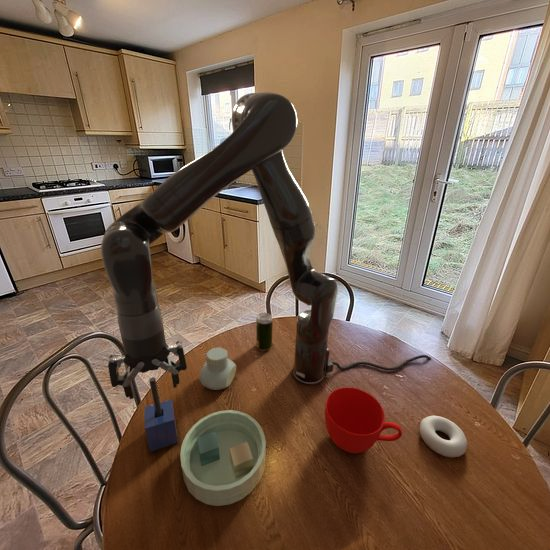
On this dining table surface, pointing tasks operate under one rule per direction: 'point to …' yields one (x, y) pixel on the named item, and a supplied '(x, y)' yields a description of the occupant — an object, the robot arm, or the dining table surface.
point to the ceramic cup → (356, 420)
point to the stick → (155, 396)
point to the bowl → (223, 458)
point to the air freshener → (217, 370)
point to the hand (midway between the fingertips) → (154, 390)
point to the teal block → (208, 448)
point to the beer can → (264, 331)
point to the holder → (160, 426)
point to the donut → (439, 445)
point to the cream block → (241, 459)
